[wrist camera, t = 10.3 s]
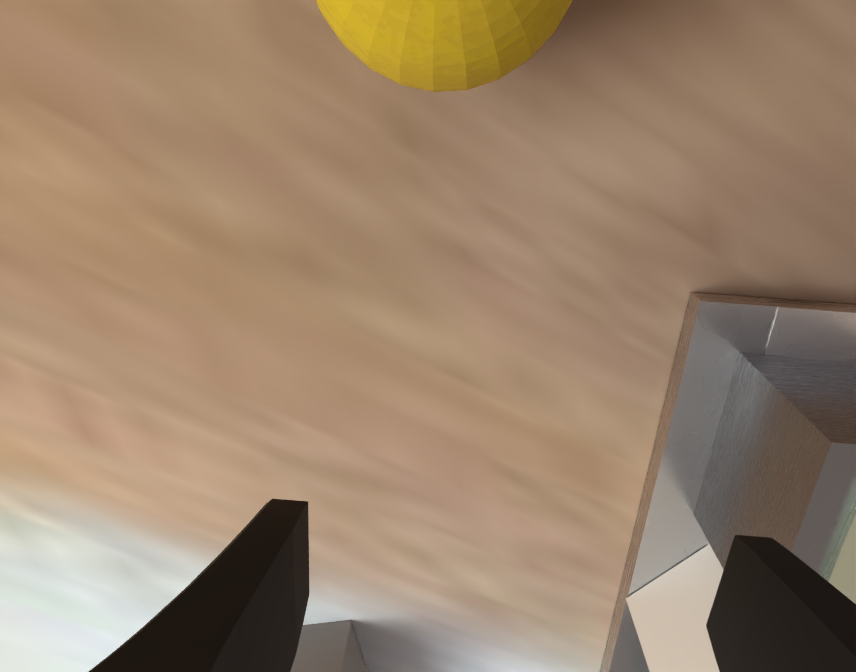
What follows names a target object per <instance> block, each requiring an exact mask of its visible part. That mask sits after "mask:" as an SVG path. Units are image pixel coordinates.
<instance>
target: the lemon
mask: <svg viewBox="0 0 856 672" xmlns="http://www.w3.org/2000/svg"><path fill="white" fill-rule="evenodd" d="M316 1H317V4H318V6H319V9H320V11H321V13H322V14H323V16H324V17H325V19H326V20H327V22H328V23H329V24H330V26H331V27H332V29H333V30H334V32H335V33H336V34H337V36H338V37H339V39H340V40H341V42H342V43H343V44H344V46H346V47H347V48H348V49H349V50H350V51H351V52H352V53H353V54H355V55H356V56H357V57H358V58H359V59H360V60H361V61H362V62H364V63H365V64H366V65H367V66H368V67H369V68H370V69H372V70H374V71H376V72H378V73H380V74H382V75H383V76H385V77H387V78H389V79H391V80H393V81H395V82H397V83H399V84H401V85H404V86H409V87H414V88H418V89H423V90H428V91H433V92H440V91H457V90H468V89H471V88H474V87H477V86H480V85H483V84H486V83H489V82H492V81H495V80H498V79H500V78H502V77H503V76H505V75H506V74H508V73H509V72H511V71H512V70H514V69H515V68H517V67H518V66H520V65H521V64H523V63H524V62H526V61H527V60H529V59H530V58H531V57H532V56H533V55H534V53H535V52H536V51H537V50H538V49H539V48H540V47H541V46H542V45H543V44H544V43H545V42H546V41H547V39H548V38H549V37H550V36H551V35H552V34H553V33H554V32H555V31H556V29H557V27H558V25H559V24H560V22H561V20H562V19H563V17H564V15H565V13H566V12H567V10H568V8H569V6H570V5H571V3H572V1H573V0H316Z"/></svg>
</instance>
